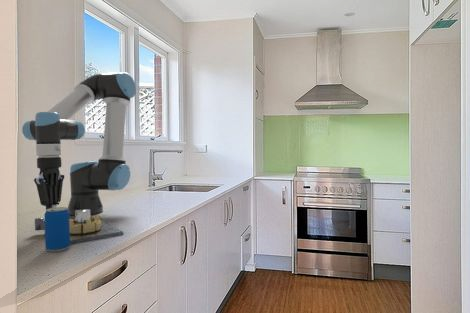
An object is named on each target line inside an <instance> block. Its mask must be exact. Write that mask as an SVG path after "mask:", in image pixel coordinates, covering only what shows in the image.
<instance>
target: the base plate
mask: <svg viewBox="0 0 470 313" xmlns="http://www.w3.org/2000/svg"><path fill="white" fill-rule="evenodd" d="M74 216H75V217H74V219H75V223H76V224H83V223H84V220H86V219H90V220H91V218H92V217H91V216H92V214H91V215H90V210H89V209H83V210H77V211H75V215H74ZM122 235H124V231H123V230H121V229H120V228H117V227H116V226H113V225H111V224H109V223H106V222H104V221H101V229H99V230H97V231H93V232H87V233H70V245H73V244H78V243H85V242H91V241H96V240H101V239H108V238H113V237H118V236H122Z"/></svg>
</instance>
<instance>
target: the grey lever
mask: <svg viewBox="0 0 470 313" xmlns="http://www.w3.org/2000/svg"><path fill="white" fill-rule="evenodd" d="M91 216H92V217H91V220H90V219H86V220H84V223H83V224H76V223H75V218H74V219H73V218H69V225H70V233H87V232H93V231H97V230H99V229H101V222H102V219H101V216H100V215H97V214H95V215H91ZM34 231H45V217H37V218H34Z"/></svg>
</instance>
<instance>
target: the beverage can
mask: <svg viewBox="0 0 470 313" xmlns="http://www.w3.org/2000/svg"><path fill="white" fill-rule="evenodd" d="M67 208H68V207H64V206H63V207H62V206H61V207H60V206H56V208H50V209H46V208H45V213H44V219H45V230H44V239H45V244H44V245H45V250H46V251H48V252H51V253H58V252H63V251H66V250H68V248H69V247H70V246H71V244H70V225H69V219H70V215H69V211H68V210H67Z"/></svg>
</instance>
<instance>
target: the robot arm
mask: <svg viewBox="0 0 470 313" xmlns="http://www.w3.org/2000/svg"><path fill="white" fill-rule="evenodd" d="M136 93H137V87H136V82H135V81H134V78H133V76H132V75H131V74H129V73H128V72H125V71H124V72H123V71H122V72H120V71H117V72H107V73H97V74H93V75H90V76H88V77H87V78H85V79H84V80H82V81H80V82H79V83H78V84H77V85H75V87H74V90H73V91H72V92H71V93H69V94H68V95H66V97H64V98H62V100H60V101H58V103H56V104H55V105H54V106H52V107H51V108H50V109H48V110H47V111H39V112H36V113H35V117H34V118H35V120H33V119H32V120H28V121H25V122H24V123H23V125H22V128H21V132H22V135H23V136H24V138H25V139H26V140H29V141H35V143H36V145H35V147H36V149H35V151H36V152H35V153H36V156H37V158H36V167H37V169H39V174H38V177H37V178H36V177H35V178H34V179H33V182H34V183H35V185H36V189H37V194H38V198H39V203H40V206H41V205H42V206H44V207H45V210H46V209H50V208H57V206H58V205H60V203H61V200H62V192H63V185H64V184H63V183H64V180H65V174H61V172H60V168H61V167H62V158H61V157H60V156H61V155H62V152H61V151H62V149H61V147H62V146H61V141H75V140H80V139H81V138H83V137H84V135H85V132H86V131H85V129H86V128H85V125H84V123H82V121H79V120H75V119H71V118H72V117H74V116H75V115H76V114H77V113H78V112H79V111H80V110H81V109H82V108H84V107H85V106H87V105H88V104H89V105H90V104H91V103H93V102H95V101H98V100H103V102H104V103H105V104H106V108H105V118H104V130H103V132H104V133H103V145H102V146H103V147H102V156H101V157H99V158H98V161H97V160H92V161H90V160H89V161H82V162H76V163H73V164H71V166H70V169H69V171H70V172H69V182H70V198H69V202H68V205H67V207H66V208H67V210H68V211H69V216H75V211H77V210H83V209H89V210H90V215H91V216H92V215H97V214H100V213H102V212H104V205H103V204H102V201H101V197H100V195H99V191H122V190H123V189H125V188H126V186H128V185H129V183H130V179H131V170H130V166H129V165H128V164H127V163H126V162H127V161H126V160H125V158H124V157H123V155H124V144H125V143H124V141H125V140H124V139H125V129H126V128H125V126H126V112H127V106H128V105H130V103H131V99H132V98H134V97H135V95H136Z"/></svg>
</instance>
